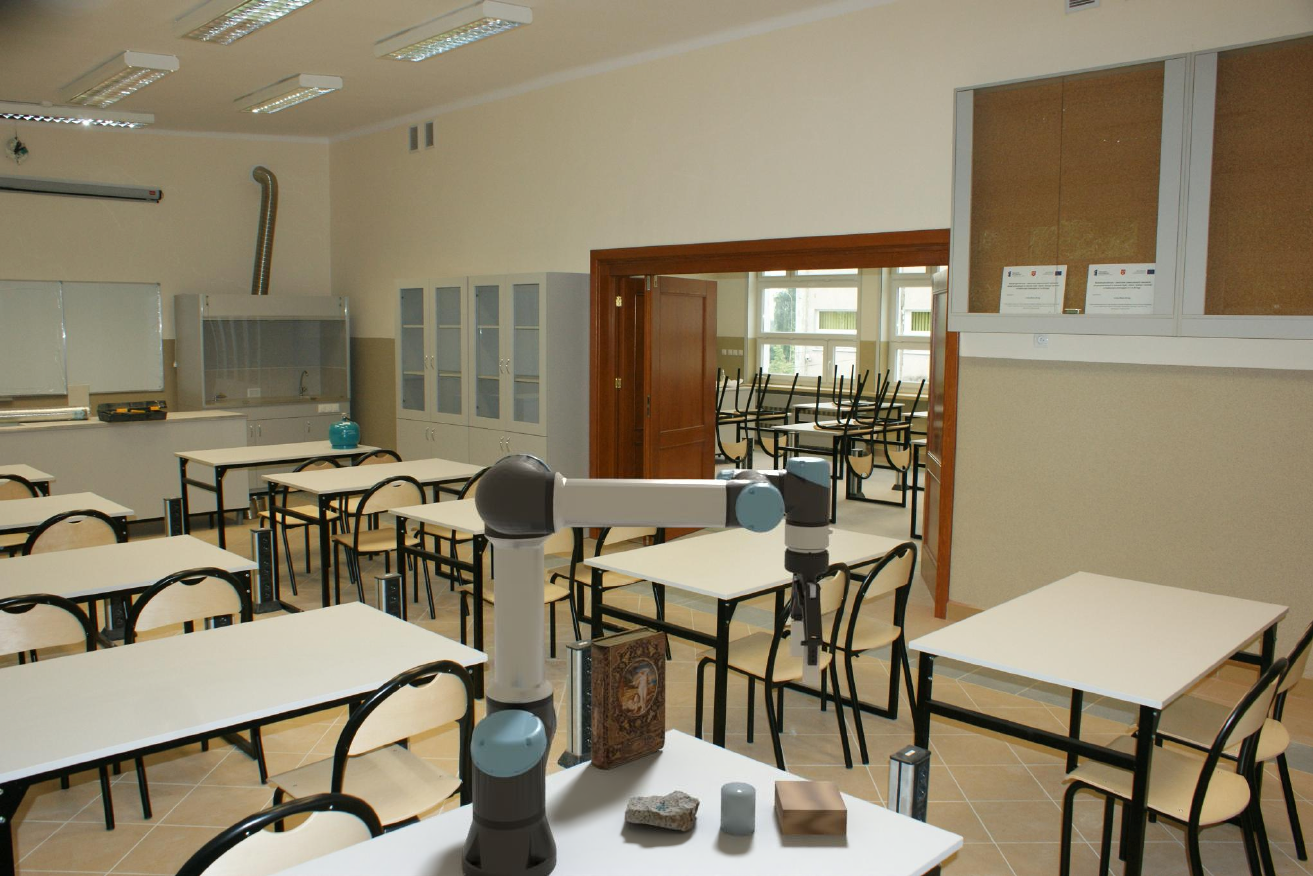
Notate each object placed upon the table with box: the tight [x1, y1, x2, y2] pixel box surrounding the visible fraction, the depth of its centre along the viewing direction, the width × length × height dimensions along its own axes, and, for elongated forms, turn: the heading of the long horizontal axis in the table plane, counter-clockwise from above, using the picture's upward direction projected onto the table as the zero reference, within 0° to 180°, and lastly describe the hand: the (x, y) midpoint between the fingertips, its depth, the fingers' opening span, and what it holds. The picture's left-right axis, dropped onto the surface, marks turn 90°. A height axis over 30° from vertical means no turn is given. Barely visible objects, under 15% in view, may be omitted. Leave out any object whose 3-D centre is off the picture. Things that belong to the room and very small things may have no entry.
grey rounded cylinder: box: [720, 781, 757, 837], centre depth 168 cm, size 6×6×7 cm
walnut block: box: [774, 780, 848, 836], centre depth 172 cm, size 11×11×5 cm
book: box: [590, 626, 667, 770], centre depth 197 cm, size 16×6×25 cm, turn 133°
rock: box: [624, 790, 701, 832], centre depth 170 cm, size 13×10×5 cm
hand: (804, 669), depth 167 cm, fingers open, 13 cm apart
